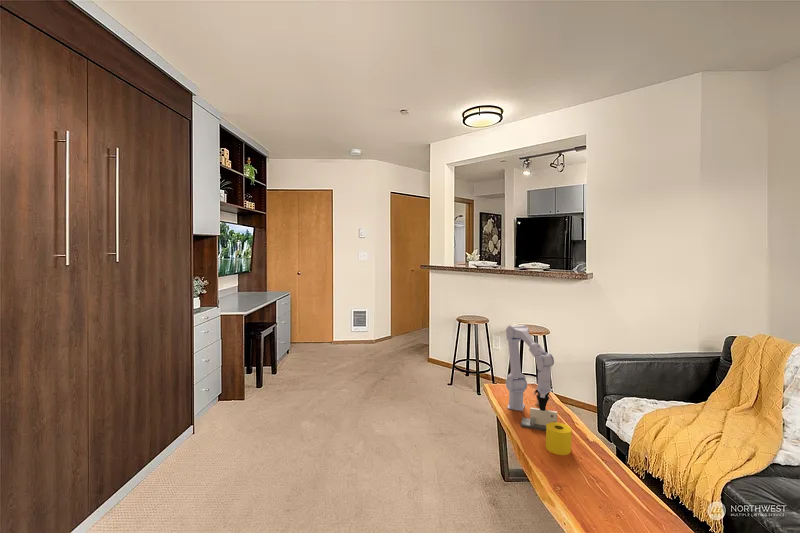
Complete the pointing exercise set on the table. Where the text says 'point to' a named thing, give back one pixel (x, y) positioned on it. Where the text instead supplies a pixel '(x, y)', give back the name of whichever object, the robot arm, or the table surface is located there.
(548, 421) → the cabinet door
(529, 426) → the rail
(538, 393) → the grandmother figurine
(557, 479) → the table surface
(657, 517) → the table surface
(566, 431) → the tape roll
